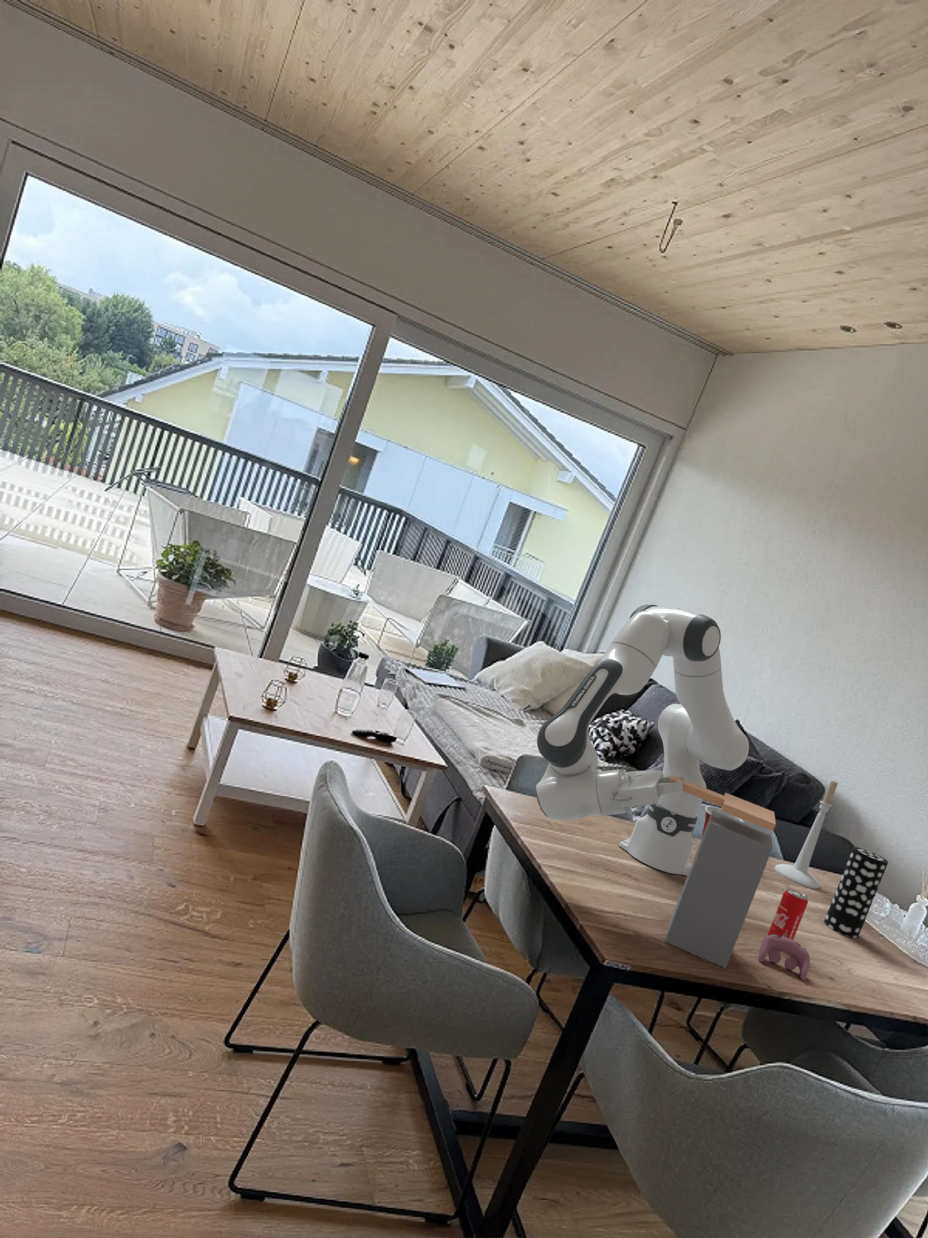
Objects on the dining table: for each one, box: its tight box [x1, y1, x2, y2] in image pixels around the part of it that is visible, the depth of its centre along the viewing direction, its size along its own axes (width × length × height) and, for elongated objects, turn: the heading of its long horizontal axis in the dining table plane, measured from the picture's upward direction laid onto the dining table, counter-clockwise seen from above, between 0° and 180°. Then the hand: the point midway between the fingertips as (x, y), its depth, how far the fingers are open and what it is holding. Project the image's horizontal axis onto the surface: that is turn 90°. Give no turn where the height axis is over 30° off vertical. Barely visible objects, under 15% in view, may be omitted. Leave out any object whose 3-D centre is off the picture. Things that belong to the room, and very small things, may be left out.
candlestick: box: [774, 780, 839, 890], centre depth 269 cm, size 13×13×30 cm
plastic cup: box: [701, 805, 745, 837], centre depth 263 cm, size 11×11×12 cm
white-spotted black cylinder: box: [823, 846, 889, 939], centre depth 233 cm, size 8×8×20 cm
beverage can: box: [766, 887, 809, 940], centre depth 206 cm, size 5×5×12 cm
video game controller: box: [758, 935, 811, 981], centre depth 193 cm, size 10×5×7 cm, turn 72°
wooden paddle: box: [669, 775, 777, 832], centre depth 188 cm, size 12×21×2 cm, turn 72°
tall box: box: [665, 810, 774, 969], centre depth 188 cm, size 13×12×25 cm
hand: (683, 783), depth 190 cm, fingers closed on wooden paddle, 4 cm apart
